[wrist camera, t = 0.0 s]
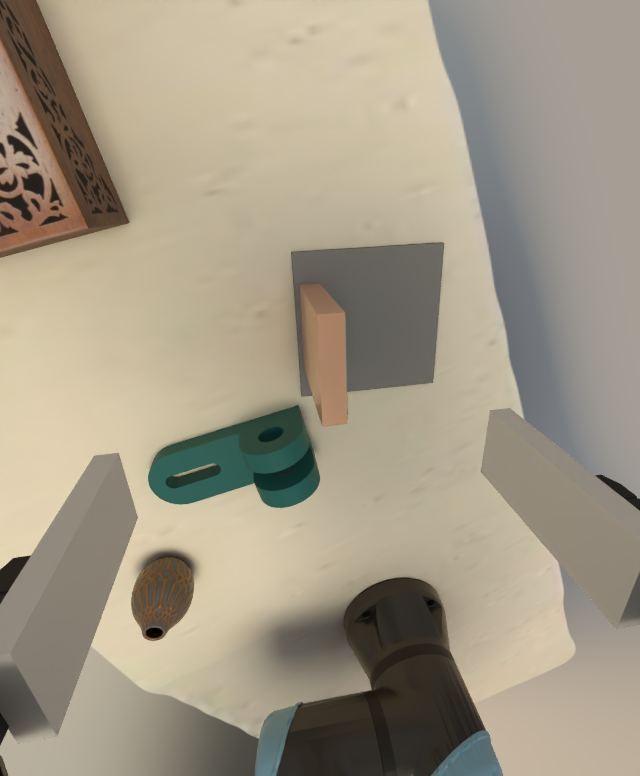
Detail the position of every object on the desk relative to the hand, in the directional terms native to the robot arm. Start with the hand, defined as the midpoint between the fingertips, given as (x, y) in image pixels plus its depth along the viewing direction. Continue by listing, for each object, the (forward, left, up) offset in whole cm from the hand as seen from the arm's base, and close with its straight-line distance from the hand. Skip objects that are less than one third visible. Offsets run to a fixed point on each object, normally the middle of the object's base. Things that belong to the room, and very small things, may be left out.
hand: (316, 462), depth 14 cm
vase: (-33, +17, -28) cm, 47 cm away
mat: (-3, -9, -28) cm, 30 cm away
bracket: (-17, +7, -28) cm, 34 cm away
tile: (-3, -3, -28) cm, 28 cm away
